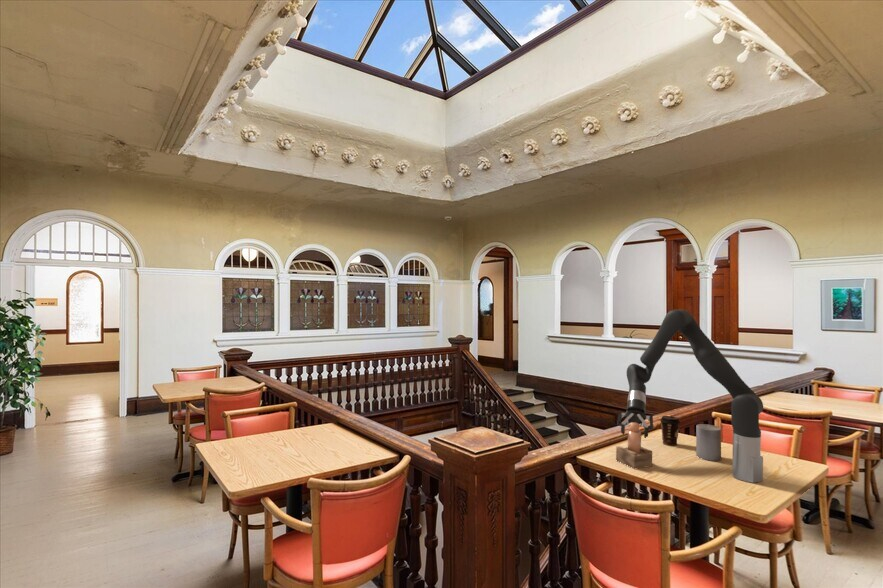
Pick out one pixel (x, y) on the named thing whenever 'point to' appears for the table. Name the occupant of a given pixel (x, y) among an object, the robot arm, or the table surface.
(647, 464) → the pedestal
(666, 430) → the coffee cup
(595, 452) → the table surface
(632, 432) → the peg doll
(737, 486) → the table surface
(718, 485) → the table surface
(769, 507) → the table surface
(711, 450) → the pillar candle
